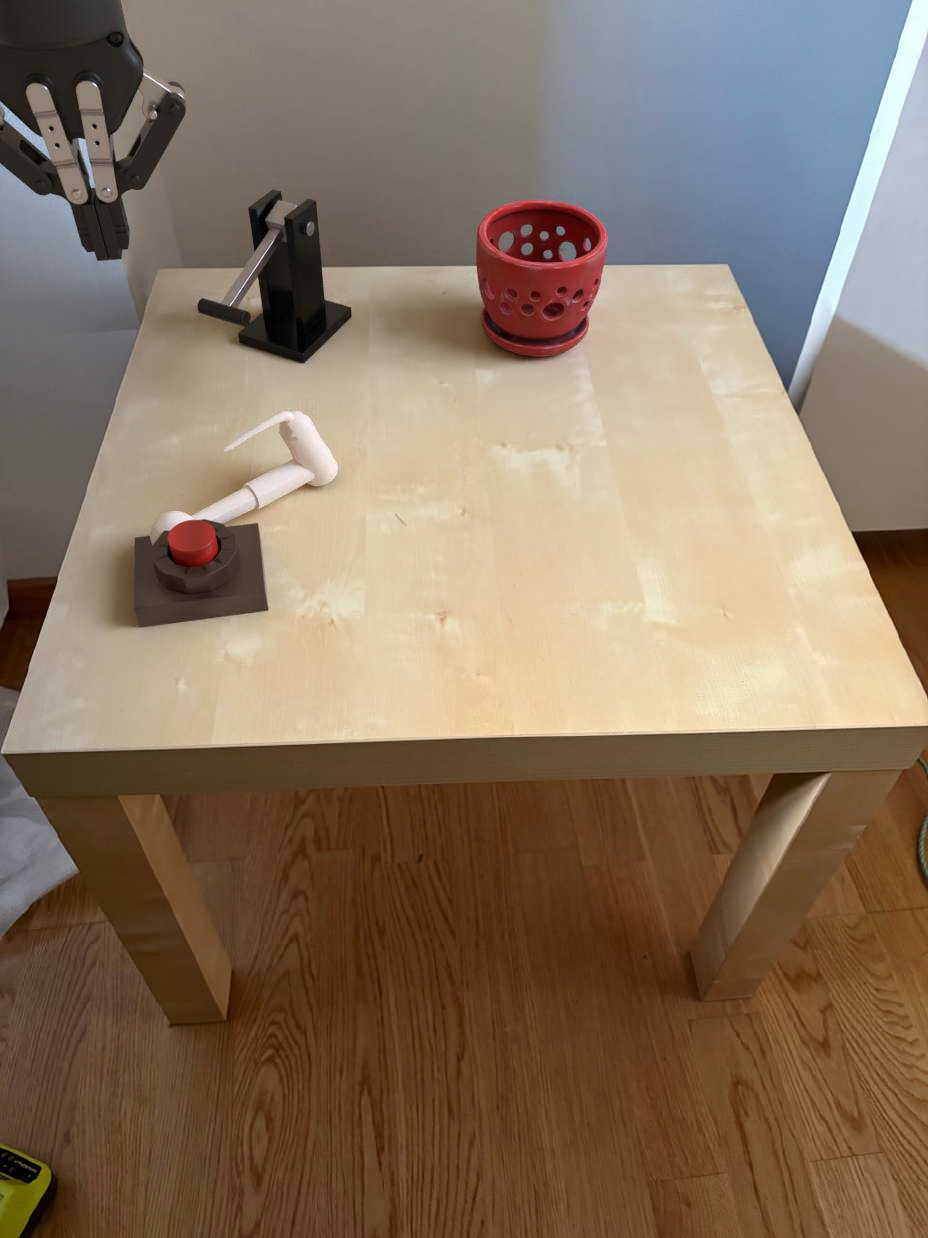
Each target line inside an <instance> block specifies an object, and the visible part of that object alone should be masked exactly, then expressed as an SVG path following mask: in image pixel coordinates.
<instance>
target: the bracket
mask: <svg viewBox="0 0 928 1238" xmlns="http://www.w3.org/2000/svg"><path fill="white" fill-rule="evenodd" d="M278 200H281V201H283V194H282V191H280V190H277V189H273V188H272V189H271V190H270V191H268V192H267V193H265V194H264V195H263V196H262V197H260V198H259V199H258V200H256V201H255V202H253V203H252V204H251V205H249V206H248V207H247V210H248V217H249V223H250V224H249V225H250V231H251V237H252V245H253V252H255V251H256V249H257V248H258V247H259V245H260V244H261V242H262V241H263V239H264V238H265V236H266V235H267V233H268V232H269V230H268V227H267V224H266V222H265V219H266V217H267V216H268V214H269V213H270V212H271V210H272V209H273V207H274V206H275V204H276V203H277V201H278ZM317 207H318V205H317V200H315V199H312V198H306V199H305V200H304V201H303V202H300V204H299V205H298V206H297V207H296V208H295V209H294V210H292V211H291V212H290V213H288V214H287V215H286V216H285V217H284V222H285V231H286V240H287V242H283V241H281V242H280V243H279V245H278V246H277V248H276V249H275V251H274V252H273V254H272V255H271V257H270V258H269V260H268V261H267V263H266V264H265V266H264V267H263V269H262V271H261V272H260V274H259V275H258V277H257V280H258V281H257V282H258V288H259V294H260V295H259V296H260V300H261V301H260V302H261V303H260V304H261V310H262V311H261V313H259V314H258V315H257V316H256V317H255V318H253V319H252V320H250V323H249V325H248V326H247V327H243V328H242V329H241V330H239V332H237V338H238V343H239V344H241V345H244V346H248V347H251V348H253V349H254V348H255V349H257V350H261V351H264V352H268V353H270V354H273V355H277V356H280V357H283V358H287V359H289V360H292V361H295V362H299V363H302V364H305V363H306V362H307V361H308V360H310V358H311V357H312V356H314V354H315V353H317V351H319V349H321V348H322V347H323V345H325V343H327V342H328V341H329V340H330V339H331V338H332V337H333V336H334V335H335V334H336V333H338V331H339V330H340V329H341V328H342V327H343V326H345V324H346V323H347V322H348V321H350V319H351V318H352V316H353V314H352V313H353V312H352V307H351V306H348V305H344V304H341V303H338V302H334V301H331V300H327V299H325V289H324V288H325V286H324V277H323V276H324V275H323V264H322V253H321V241H320V229H319V217H318V208H317Z"/></svg>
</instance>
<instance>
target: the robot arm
mask: <svg viewBox="0 0 928 1238" xmlns="http://www.w3.org/2000/svg"><path fill="white" fill-rule="evenodd" d="M122 4H123V3H122V0H0V165H1V166H2V167H4V168H5V169H6V170H7V171H8V172H10V173H11V174H12V175H13V176H15V177H16V178H17V179H18V180H20V182H22V184H23V185H25V186H27V188H29V189H30V190H31V191H33V192H34V193H35V194H36V195H38V196H42V197H43V196H48V195H50V194H51V195H54V196H58V197H60V198H62V199H64V200H65V201H66V202H67V203H68V204H69V206H70V209H71V212H72V216H73V219H74V224H75V226H76V231H77V234H78V237H79V240H80V244H81V246H82V247H83V249H84V250H85V252H86V253H94V256H95V258H96V261H97V262H104V261H105V262H106V261H117V260H118V261H119V260H123V251H125V250H129V247H130V246H129V245H130V238H131V237H130V236H131V235H130V234H131V230H130V226H129V222H128V217H127V213H126V209H125V204H124V200H123V195H124V194H125V193H126V192H128V191H131V190H133V191H140V190H143V189H145V187H146V185H147V183H148V182H149V180H150V178H151V176H152V175H153V174H154V171H155V169H156V168H157V166H158V165H159V163H160V161H161V159H162V157H163V156H164V154H165V152H166V150H167V148H168V147H169V145H170V143H171V141H172V139H173V138H174V135H175V134H176V132H177V130H178V128H179V127H180V125H181V123H182V122H183V119H184V118H185V116H186V113H187V108H186V107H187V103H186V100H187V99H186V92H185V89H184V87H183V86H182V84H181V83H179V82H177V81H173V80H172V81H168V82H167V81H165V80H163V79H162V78H161V77H159V76H157V75H156V74H155V73H153V72H152V71H150V70H149V69H147V68H146V67H144V59H143V56H142V53H141V52H140V50H139V48H138V46H137V45H135V43H134V42H133V40H132V39H131V36H130V34H129V32H128V29H127V25H126V18H125V14H124V9H123V5H122ZM138 91H140V94H141V96H142V99H141V112H142V114H143V116H144V118H146V119H145V121H144V123H143V125H142V126H141V128H140V130H139V132H138V133H137V135H136V138H135V140H134V141H133V143H132V145H131V147H130V149H129V151H128V152H127V154H126V156H125V157H123V158H121V159H119V160H117V156H116V151H115V143H114V142H115V141H114V134H115V133H116V132H117V131H118V130H119V129H120V128H121V126H122V124H123V123H124V120H125V118H126V116H127V113H128V111H129V110H130V107H131V105H132V103H133V101H134V99H135V96H136V95H137V93H138ZM1 103H2V104H1ZM2 105H3V106H4V107H6V109H8V111H10V112H11V113H12V114H13V115H14V116H15V117H17V119H18V120H19V121H20V122H22V123H23V125H24V126H26V127H27V128H28V129H29V130H30V131H31V132H32V133H33V134H35V135H37V136H38V137H40V138H42V139H43V141H44V144H45V147H46V151H47V152H48V156H49V157H48V156H47V155H46V154H45V153H44V152H42V151H41V150H40V149H39V148H38V147H37V146H35V144H33V143H32V142H31V141H30V140H29V139H27V138H26V137H25V136H24V135H23V134H22V133H21V132H20V131H18V130H17V129H16V128H15V127H14V126H13V125H12V124H11V123H10V122H8V120H5V117H6V111H5V109H4V107H3V106H2ZM79 139H81V140H85V145H86V151H87V156H88V157H87V158H88V160H89V164H90V166H91V167H90V168H91V172H92V178H93V184H94V187H92V185H91V182H90V174H89V169H88V167H87V165H86V162H85V159H84V155H83V153H82V150H81V146H80V141H79Z"/></svg>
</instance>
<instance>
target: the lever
mask: <svg viewBox="0 0 928 1238" xmlns="http://www.w3.org/2000/svg"><path fill="white" fill-rule="evenodd" d="M297 206H299V205H298V204H295V203H291V202H288V201H284V200H282V201H281V200H278V201H277V203H276V204H275V206H274V207H273V209H272V210H271V212H270V213H269V214H268V216H267V217H266V219H265V222H266V224H267V227H268V230H269V232H268V233H267V235H266V236H265V238H264V239H263V241H262V242H261V244H260V245H259V247H258V248H257V249H256V251H255V252H254V251H253V252H254V253H253V254H252V255H251V257H250V258H249V260H248V261H247V263H246V264H245V266H244V267H243V269H242V270H241V271H240V273H239V274H238V276H237V278H236V279H235V281H234V282H233V283H232V285H231V287H230V289H229V290H228V291H227V292H226V294H225V296H224V297H223V299H222V300H221V301H220V302H218V301H215V300H212V299H208V298H204V297H201V298H200V299H199V301H198V303H197V307H196V308H197V311H198V313H199V314H201V315H203V316H204V315H205V316H208V317H211V318H214V319H217V320H220V321H223V322H227V323H230V324H233V325H237V326H240V327H243V328H244V327H247V326H248V325H249V323H250V322H251V318H252V316H251V313H250V311H248V310H244V309H241V308H238V307H239V305H240V304H241V302H242V301H243V299H244V298H245V296H246V295H247V294H248V292H249V290H250V288H251V287H252V286H253V284H254V283H255V281H256V279H258V275H259V274H260V272H261V271H262V269H263V267H264V266H265V264H266V263H267V261H268V260H269V258H270V257H271V255H272V254H273V252H274V251H275V249H276V248H277V246H278V245H279V243H280V242H281V241H283V242H287V240H286V231H285V222H284V217H285V216H286V215H287V214H288V213H290V212H291V211H292V210H294V209H295V208H296V207H297Z"/></svg>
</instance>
